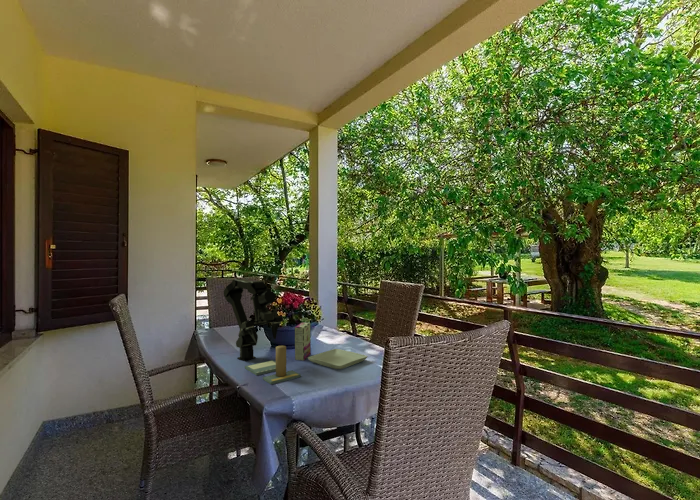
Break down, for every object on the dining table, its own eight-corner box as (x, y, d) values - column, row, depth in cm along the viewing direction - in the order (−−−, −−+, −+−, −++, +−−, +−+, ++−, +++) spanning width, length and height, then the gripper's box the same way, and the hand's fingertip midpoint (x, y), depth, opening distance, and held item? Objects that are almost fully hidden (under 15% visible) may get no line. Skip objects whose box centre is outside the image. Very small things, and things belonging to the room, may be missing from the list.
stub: (262, 379, 159) (262, 348, 158) (292, 372, 167) (292, 343, 167) (270, 384, 153) (270, 352, 153) (300, 376, 162) (300, 346, 162)
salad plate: (335, 354, 197) (335, 347, 197) (368, 362, 184) (368, 355, 184) (306, 364, 181) (306, 356, 181) (340, 373, 168) (340, 366, 168)
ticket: (244, 368, 173) (244, 365, 173) (272, 362, 182) (272, 360, 182) (256, 375, 164) (256, 372, 164) (285, 369, 172) (285, 366, 172)
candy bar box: (301, 353, 196) (301, 322, 196) (311, 354, 195) (311, 322, 195) (294, 360, 185) (294, 326, 185) (304, 361, 184) (304, 327, 184)
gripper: (248, 306, 166) (253, 342, 163) (285, 301, 178) (291, 335, 175) (238, 311, 175) (243, 345, 171) (275, 306, 186) (280, 338, 183)
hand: (265, 340), depth 175 cm, fingers open, 9 cm apart
